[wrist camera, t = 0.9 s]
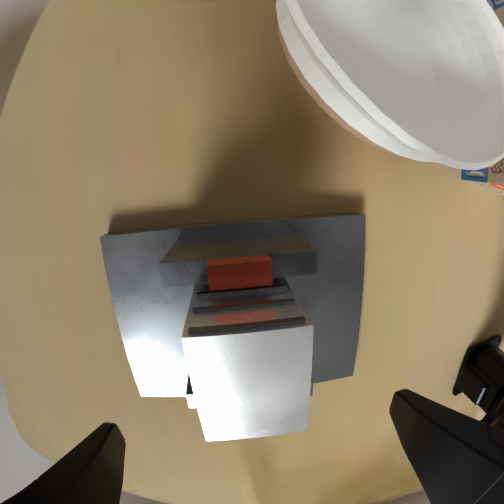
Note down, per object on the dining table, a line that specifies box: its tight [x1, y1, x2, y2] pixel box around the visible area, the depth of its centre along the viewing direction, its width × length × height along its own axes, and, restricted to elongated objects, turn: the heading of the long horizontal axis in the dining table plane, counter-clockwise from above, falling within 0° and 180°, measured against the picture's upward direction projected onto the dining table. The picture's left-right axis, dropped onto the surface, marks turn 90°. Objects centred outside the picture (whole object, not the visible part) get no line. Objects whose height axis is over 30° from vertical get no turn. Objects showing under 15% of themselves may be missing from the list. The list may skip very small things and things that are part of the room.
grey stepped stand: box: [100, 213, 365, 408], centre depth 15 cm, size 16×12×7 cm
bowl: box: [276, 0, 504, 170], centre depth 12 cm, size 16×16×8 cm
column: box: [182, 277, 314, 441], centre depth 13 cm, size 4×5×8 cm
